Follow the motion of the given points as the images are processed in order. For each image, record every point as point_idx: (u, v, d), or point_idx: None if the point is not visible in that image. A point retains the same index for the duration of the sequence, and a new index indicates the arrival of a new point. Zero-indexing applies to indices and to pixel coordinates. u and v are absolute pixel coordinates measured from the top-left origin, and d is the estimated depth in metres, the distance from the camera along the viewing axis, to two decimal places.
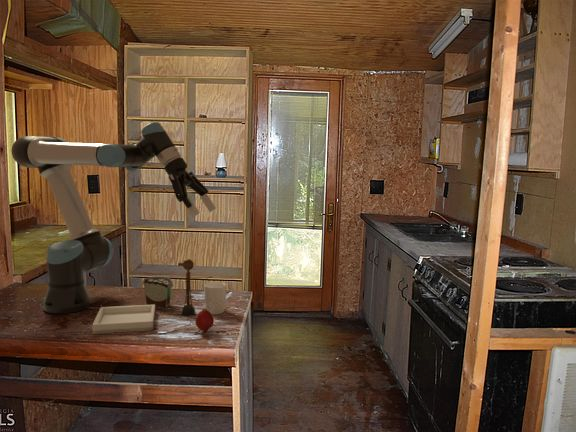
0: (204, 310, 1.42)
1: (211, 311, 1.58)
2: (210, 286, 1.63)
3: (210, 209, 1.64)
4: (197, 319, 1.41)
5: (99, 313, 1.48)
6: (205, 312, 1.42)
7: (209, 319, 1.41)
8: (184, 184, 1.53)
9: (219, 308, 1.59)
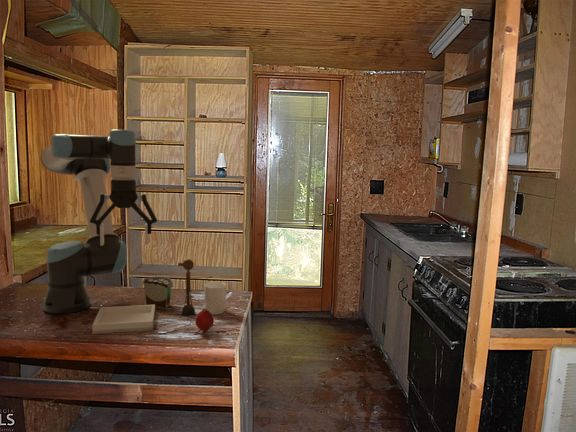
0: (204, 310, 1.42)
1: (211, 311, 1.58)
2: (210, 286, 1.63)
3: None
4: (197, 319, 1.41)
5: (99, 313, 1.48)
6: (205, 312, 1.42)
7: (209, 319, 1.41)
8: (109, 210, 1.41)
9: (219, 308, 1.59)
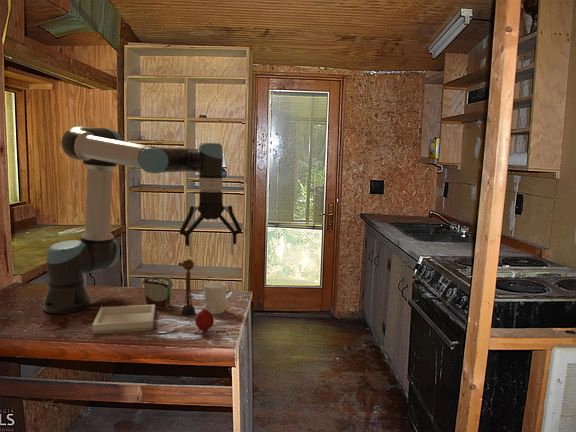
0: (204, 310, 1.42)
1: (211, 311, 1.58)
2: (210, 286, 1.63)
3: (230, 251, 1.50)
4: (197, 319, 1.41)
5: (99, 313, 1.48)
6: (205, 312, 1.42)
7: (209, 319, 1.41)
8: (198, 221, 1.44)
9: (219, 308, 1.59)
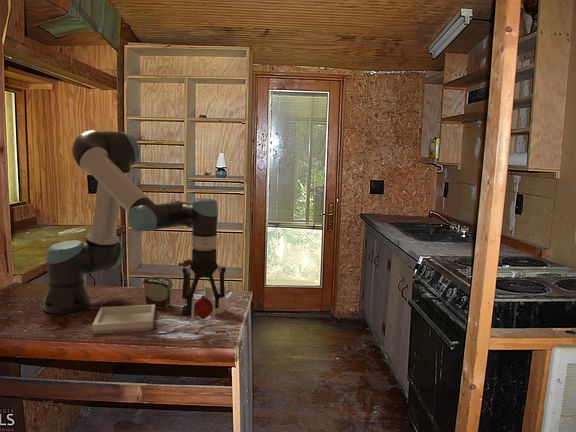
0: (203, 297, 1.42)
1: None
2: (210, 286, 1.63)
3: None
4: (196, 306, 1.41)
5: (99, 313, 1.48)
6: (204, 299, 1.41)
7: (207, 307, 1.41)
8: (195, 282, 1.39)
9: (219, 308, 1.59)
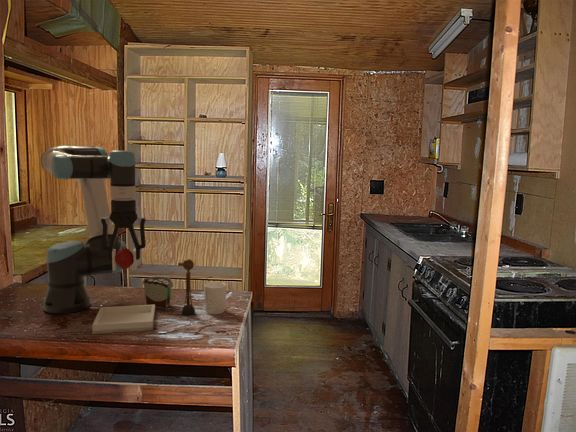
0: (124, 248, 1.45)
1: (211, 311, 1.58)
2: (210, 286, 1.63)
3: None
4: (116, 256, 1.44)
5: (99, 313, 1.48)
6: (124, 250, 1.45)
7: (127, 257, 1.44)
8: (114, 232, 1.43)
9: (219, 308, 1.59)
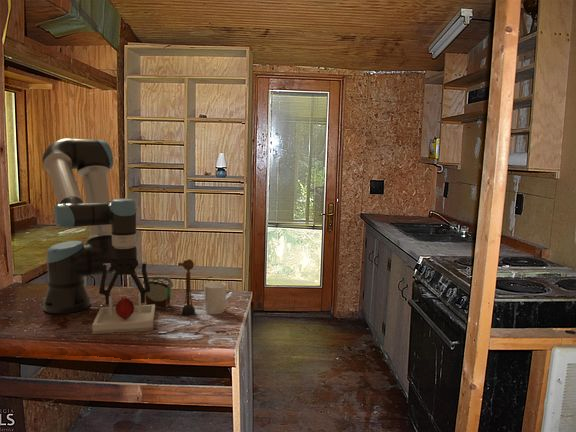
0: (123, 298, 1.47)
1: (211, 311, 1.58)
2: (210, 286, 1.63)
3: None
4: (116, 307, 1.46)
5: (99, 313, 1.48)
6: (124, 300, 1.47)
7: (127, 307, 1.46)
8: (113, 279, 1.45)
9: (219, 308, 1.59)
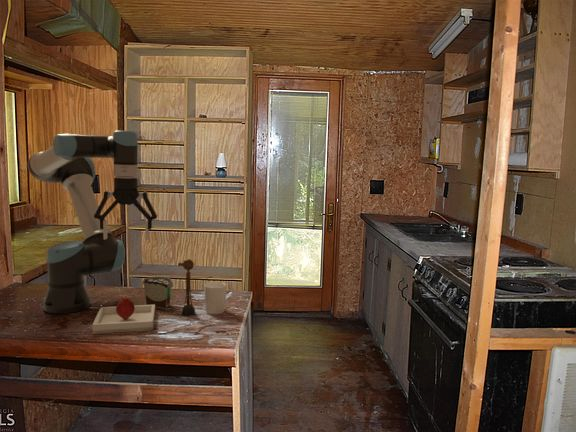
0: (124, 298, 1.47)
1: (211, 311, 1.58)
2: (210, 286, 1.63)
3: None
4: (117, 307, 1.46)
5: (99, 313, 1.48)
6: (125, 300, 1.47)
7: (128, 307, 1.46)
8: (112, 206, 1.50)
9: (219, 308, 1.59)
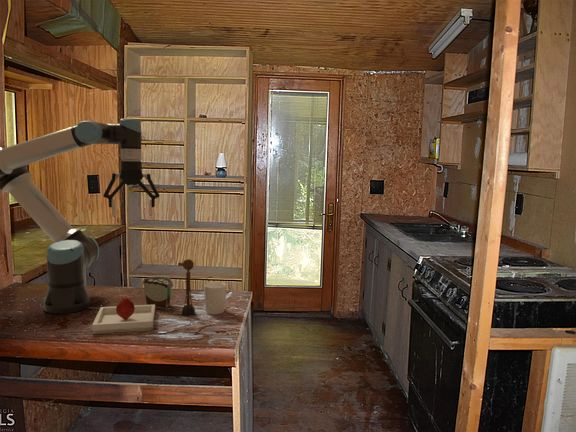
0: (124, 298, 1.47)
1: (211, 311, 1.58)
2: (210, 286, 1.63)
3: None
4: (117, 307, 1.46)
5: (99, 313, 1.48)
6: (125, 301, 1.47)
7: (128, 307, 1.46)
8: (119, 186, 1.68)
9: (219, 308, 1.59)
